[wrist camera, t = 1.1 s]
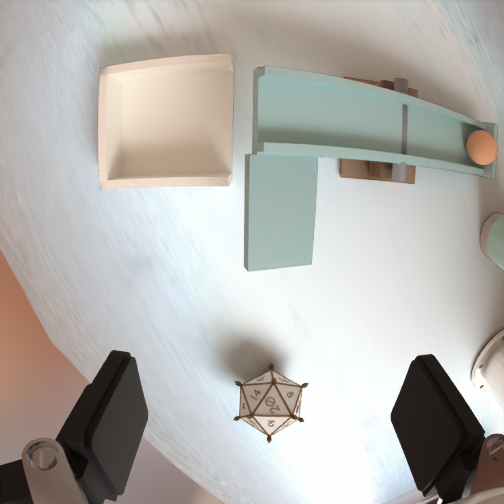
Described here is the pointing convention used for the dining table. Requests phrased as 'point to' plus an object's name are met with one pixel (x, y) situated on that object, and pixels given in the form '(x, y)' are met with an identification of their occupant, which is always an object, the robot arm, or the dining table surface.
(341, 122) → the lever
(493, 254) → the coffee cup
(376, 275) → the dining table surface
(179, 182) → the tray
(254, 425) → the game die
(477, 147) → the ball
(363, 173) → the fulcrum
